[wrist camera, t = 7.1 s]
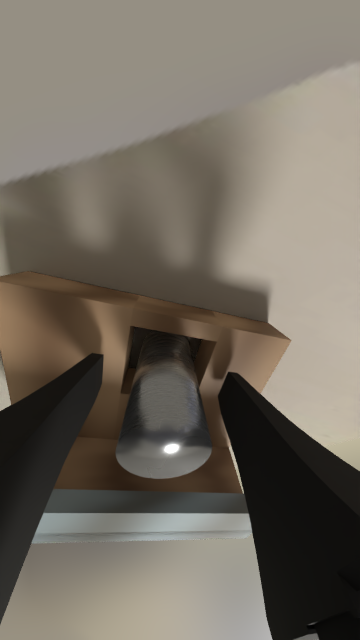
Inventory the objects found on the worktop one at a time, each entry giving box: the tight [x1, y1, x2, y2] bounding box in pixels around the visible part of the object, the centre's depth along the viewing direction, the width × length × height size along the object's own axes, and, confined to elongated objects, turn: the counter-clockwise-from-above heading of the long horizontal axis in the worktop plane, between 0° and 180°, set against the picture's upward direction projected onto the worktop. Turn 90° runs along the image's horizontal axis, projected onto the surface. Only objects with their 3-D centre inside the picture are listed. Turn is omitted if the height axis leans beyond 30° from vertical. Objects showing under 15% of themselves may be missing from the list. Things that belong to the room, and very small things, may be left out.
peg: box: [116, 330, 212, 479], centre depth 9 cm, size 4×4×7 cm
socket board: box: [0, 271, 291, 543], centre depth 10 cm, size 16×12×7 cm
